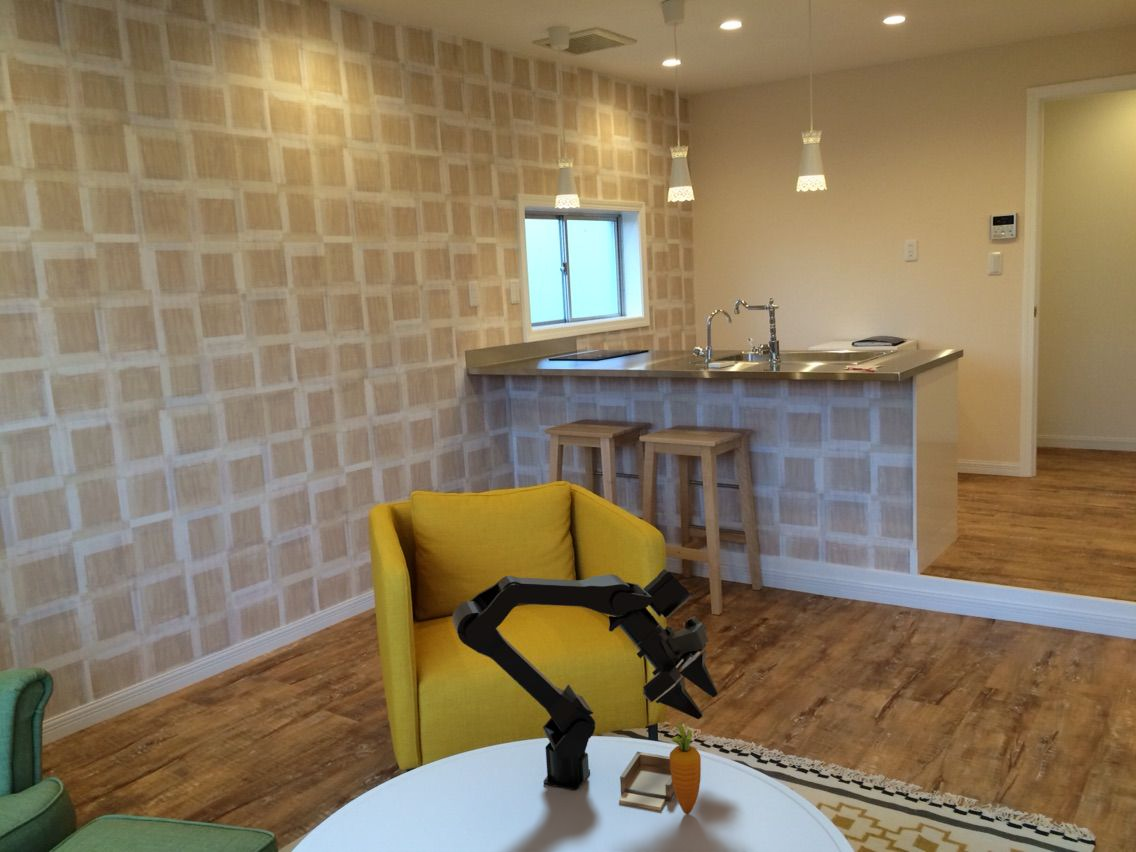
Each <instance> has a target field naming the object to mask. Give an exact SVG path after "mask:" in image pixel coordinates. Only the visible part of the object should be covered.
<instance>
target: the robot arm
mask: <svg viewBox="0 0 1136 852" xmlns="http://www.w3.org/2000/svg"><path fill="white" fill-rule="evenodd" d="M691 598H692V594H691V593H690V592H689V591H688V589H687V588H686V587H685V585H683V584H682V583H681V582H680V581H679V580H678V579H677V578H676V577H675V576H674V575H673V574H672V573H671V572H670V571H669V570H668V569H667V568H664V569H662V570H661V571H660V572H659V573H658V575H657V576H656V577H654V578H653V579H652V581H650V582H649V583H648V584H647V585H646V586H644V587H642V586H641V585H640V584H638V583H633V582H627V581H625V580H624V579H622V578H621V577H620V576H619V575H616V574H603V575H595V576H591V577H589V578H586V579H580V580H579V579H578V580H575V579H574V580H573V579H558V578H557V579H553V578H539V577H538V578H536V577H535V578H534V577H533V578H532V577H517V576H515V575H505V576H504V577H501V579H499V580H498V581H497V582H496V583H495V584H493V585H491V586H489V587H488V588H486V589H484V590H482V591H481V592H478V593H477V594H476V595H475V596H474V597H472V598H471V599H470V600H469V601H468V600H467V601H465V602H462V603H460V604H459V605H457V606H456V607H455V608H454V610H453V613H452V615H451V617H452V618H451V621H452V624H453V627H454V629H455V631H456V633H457V637H458V639H459V640H460V642H461V643H462V644H464V645H465V646H467V647H468V648H470V649H471V650H473V651H474V652H477V653H478V654H480V655H482V656H485V657H487V658H489V659H491V660H492V661H494V663H496V665H498V666H499V667H500V668H501V669H502V670H503V671H504V672H505V673H506V674H507V675H509V677H510V678H512V679H513V680H514V681H515V682H516V683H517V684H518V685H519V686H520V687H521V688H522V689H523V690H524V691H526V692H527V693H528V694H529V695H530V696H531V697H532V698H533V699H534V700H535V701H536V702H538V704H539V705H541V706H542V707H543V708H544V709H545V711H546V712H547V713H548V715H549V716H550V718H549V719H548V720H547V721H546V723H545V724H544V725H543V726H542V730H543V732H544V734H545V736H546V738H547V739H548V741H549V742H548V744H546V745H545V759H546V760H545V762H546V763H545V764H546V773H547V774H546V777H545V778H544V779H543V784H544V785H547V786H551V787H552V786H553V787H558V788H562V789H563V788H564V789H569V790H574V791H578V789H579V788H580V787H581V785H582V784H583V783H584V782H585V780H586V779H587V778H588V776H590V773H591V769H590V768H589V753H588V752H586V750H587V746H588V743H589V740H590V738H592V736H593V735H594V732H595V729H596V721H595V719H594V718H593V716H592V715H593V714H594V712H593V710H592V709H591V707H590V706H589V704H588V702H587V701H586V700H585V698H584V697H583V696H582V695H580V694H577V693H576V692H575V690H574V689H573V688H572V687H571V685H570V684H568V685H567V686H566V687H565V688H564V689H563V688H560V687H558V686H556V685H555V684H553V683H552V681H550V680H549V679H548V678H547V677H546V676H545V675H544V674H543V673H542V672H541V671H540V670H539V669H538V668H537V667H536V666H534V664H532V663H531V662H530V660H528V659H527V658H526V657H525V656H524V655H523V654H522V653H521V652H520V651H519V650H518V649H516V647H514V645H513V644H511V643H510V641H508V639H506V638H505V637H504V635H503V634H502V632H501V631H500V630H499V629H498V627H499V626H500V625H501V624H502V623H503V622H504V621H505V619H506V618H507V617H508V615H509V614H510V613H511V611H512V610H513V609H514V608H516V607H517V605H534V606H535V605H538V606H539V605H540V606H559V607H560V606H561V607H581V608H585V609H589V610H592V611H595V612H597V613H599V614H600V613H601V614H604V615H608V623H609V625H608V631H609V632H610V633H611V632H613V631H614V630H616V629H618V627H619V628H620V629H621V630H622V632H623V633H624V634H625V635H626V636H627V637H628V639H629V640H630V641H631V642H632V643H633V645H634V646H635V647H636V649H638V652H636V655H637V657H639V659H641V658H643V657H645V659H646V660H647V661H648V662H649V664H650V665H651V666H652V667H653V668H654V669H653V671H652V675H653V676H652V677H651V678H650V679H649V680H648V681H647V682H646V683H645V685H643V688H642V689H643V690H642V691H643V693H642V694H643V695H644V697H645V698H646V699H647V700H648V702H650V703H651V704H652V703H653V702H654V701H655V703H656V704H662V705H665V706H668V707H670V708H672V709H675V710H677V711H679V712H681V713H683V714H685V715H688V716H690V717H692V718H695V719H696V720H700V719H701V718H703V716H704V715H703V712H702V711H701V709H700V708H699V706H698V704H696V702H695V701H694V699H693V697H692V696H691V694H689V692H688V690H686V689H687V688H686V686H685V685H686V681H685V680H687V681H689V682H691V683H692V684H693V685H694V686H696V687H697V688H699V689H700V690H702V691H703V692H704V693H706V694H707V695H709V696H711V697H712V698H715V697H717V696H718V694H719V692H718V690H717V688H716V686H715V684H714V681H713V679H712V677H711V675H710V673H709V671H708V668H707V665H706V654H707V649H705V647H707V643H708V642H709V641H710V640H709V637H708V635H707V632H706V631H707V629H708V627H707V625H704V622H703V621H700V620H699V619H698V618H697V617H696V616H693V617H690V618H688V619H686V621H685V623H684V624H685V625H684V627H682V628H681V629H679V630H676V631H675V630H674V629H673V628H672V627H671V626H668V625H667V626H666V627H665V628H664V627H663V626H662V625H661V623H660V622H659V621H658V620H657V619H656V618H655V617H654V615H653V614H652V613H651V611H650V610H649V609H647V608H648V607H649V608H650V609H651V610H652V612H653V613H655V614H656V616H657V617H658V618H661V617H663V618H664V619H666V618H669V617H671V615H673V614H674V613H675V612H676V611H677V610H678V609H679V608H681V606H683V605H684V604H685V603H686V602H688V600H690V599H691Z"/></svg>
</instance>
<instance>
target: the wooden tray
mask: <svg viewBox="0 0 1136 852" xmlns="http://www.w3.org/2000/svg"><path fill="white" fill-rule="evenodd" d="M619 780H620V782H619V783H620V793H621V794H622V795H621V796H620V798H619V799H618V803H619V804H620V805H621V804H622V805H628V806H633V807H639V808H643V809H649V810H654V811H660V812H662V809H663V807H664V806H665V804H666V803H667V802H668V803H669V802H670V803H672V800H673V799H674V797H675V792H674V788H673V784H672V779H671V770H670V756H667V755H661V754H654V753H649V752H643V751H636V753H635V754H634V755H633V757H632V758H631V760H630V761H629V763H628V765H626V767H625V769H624V770H623V772H622V773H621V775H620V776H619Z"/></svg>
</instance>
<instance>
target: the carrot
mask: <svg viewBox="0 0 1136 852" xmlns="http://www.w3.org/2000/svg"><path fill="white" fill-rule="evenodd" d="M677 729H678V731H679V734H680V735H676V736H675V737H671V738H670V739H671V741H672V742H673V743H676V744H677V746H675V747H674V748H673V749H672V750H671V751H670V752H669V757H670V770H671V779H672V784H673V788H674V792H675V795H674V797H676V799H677V800H676V801H677V802H678V805H679V806H680V809H681V810H682V812H683V813H684V814H685V815H686V816H688V815H690V814H691V813H692V811H693V809H694V807H695V805H696V802H697V800H698V796H699V792H700V787H701V786H700V785H701V777H702V776H701V775H702V774H701V773H702V772H701V771H702V768H701V765H702V764H701V763H702V760H701V759H702V757H701V755H700V753H699V751H698V750H697V748H696V747H695V746H692V745H691V741H692V732H693V731H692V730H691V729H689V728H688V729H687V733H686V731H685V729H684V726H683V724H680V723H679V724H677Z"/></svg>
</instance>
